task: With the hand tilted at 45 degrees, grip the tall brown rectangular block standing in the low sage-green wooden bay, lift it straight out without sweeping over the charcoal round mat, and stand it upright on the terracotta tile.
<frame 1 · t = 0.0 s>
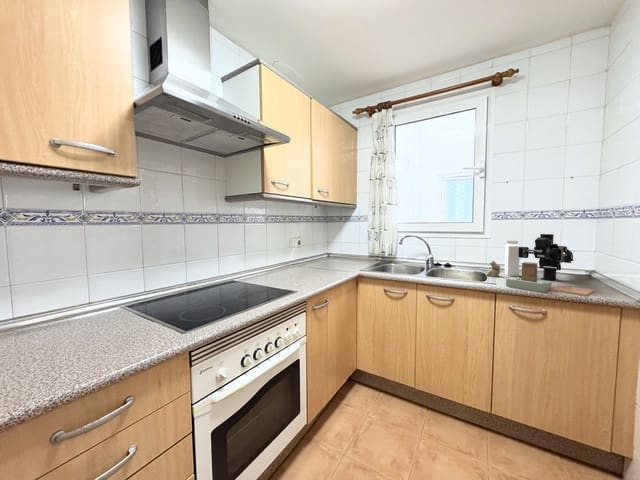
hand: (533, 254, 139), 17 cm above the counter, tool horizontal, fingers open, 9 cm apart
chocolate bunny: (492, 276, 166), on the counter
hole mat: (528, 282, 147), on the counter
tile: (571, 290, 128), on the counter
bay: (528, 286, 137), on the counter
brown rectangular block: (528, 286, 137), resting in bay
milk: (511, 275, 167), on the counter
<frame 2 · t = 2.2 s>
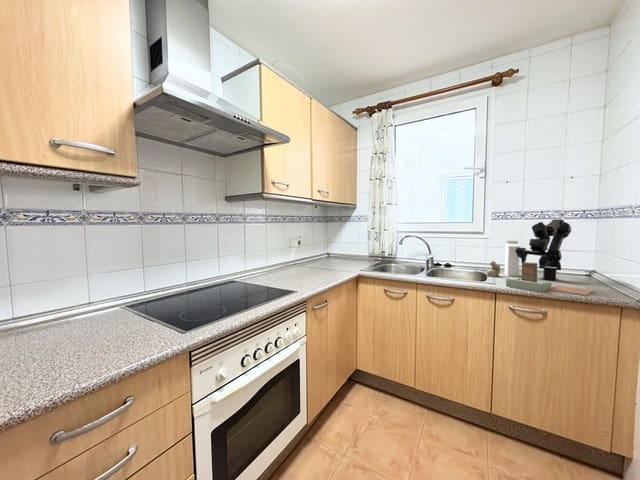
hand: (532, 265, 139), 11 cm above the counter, tool tilted 45°, fingers open, 9 cm apart
nothing on the counter moved.
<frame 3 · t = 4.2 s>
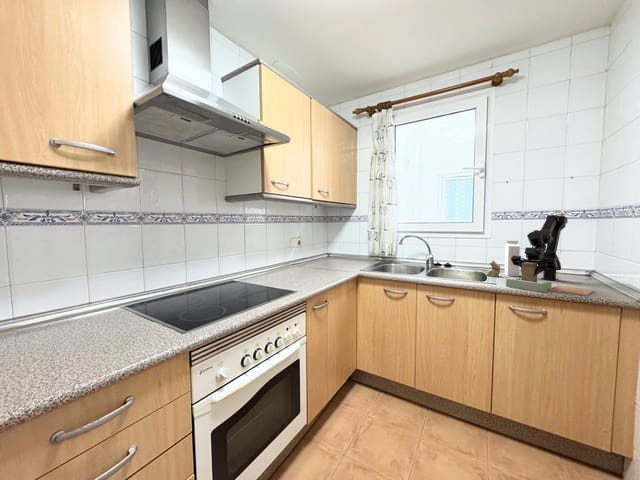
hand: (528, 274, 136), 7 cm above the counter, tool tilted 45°, fingers closed on brown rectangular block, 5 cm apart
brown rectangular block: (528, 286, 137), resting in bay, touching gripper
everything else where it was.
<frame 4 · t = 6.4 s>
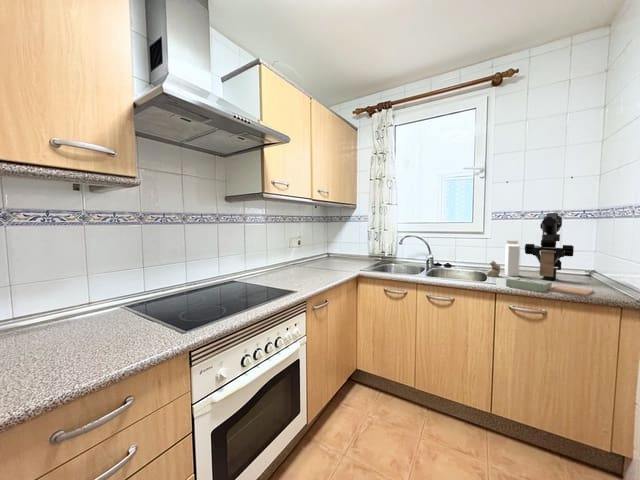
hand: (546, 262, 131), 13 cm above the counter, tool tilted 45°, fingers closed on brown rectangular block, 5 cm apart
brown rectangular block: (546, 275, 132), point 7 cm above the counter, touching gripper
everything else where it was.
when the fingers open (8 cm above the counter, at t = 8.8 s): brown rectangular block drops 1 cm, resting on tile.
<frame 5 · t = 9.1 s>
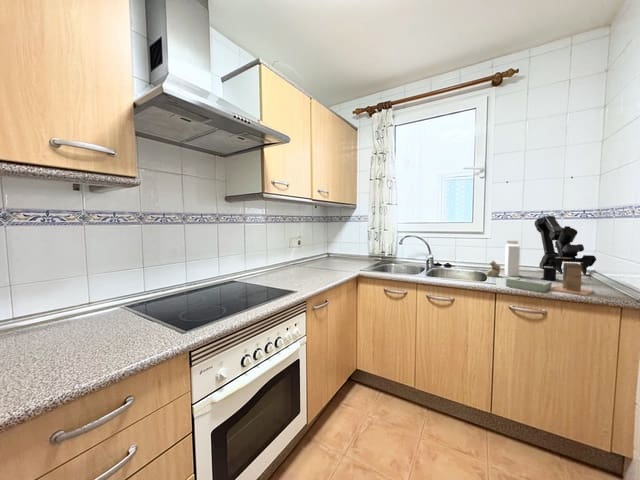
hand: (573, 274, 126), 9 cm above the counter, tool tilted 45°, fingers open, 8 cm apart
brown rectangular block: (571, 289, 128), point 1 cm above the counter, touching tile
everything else where it was.
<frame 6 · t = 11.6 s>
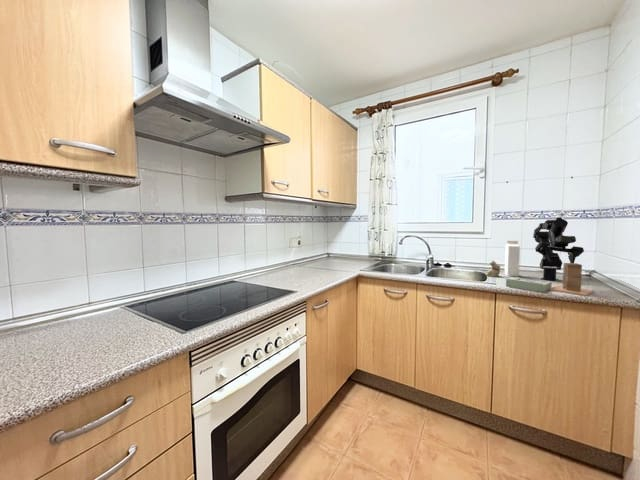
hand: (561, 263, 135), 12 cm above the counter, tool tilted 40°, fingers open, 9 cm apart
nothing on the counter moved.
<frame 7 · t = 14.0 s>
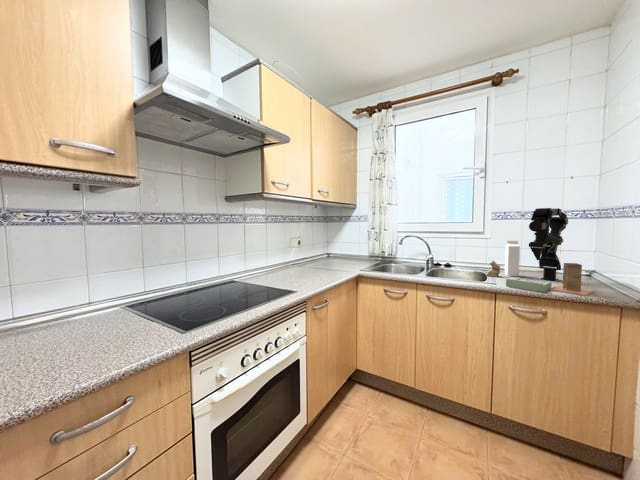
hand: (541, 259, 145), 13 cm above the counter, tool pointing down, fingers open, 9 cm apart
nothing on the counter moved.
at the end: brown rectangular block inside the target area (0.0 cm from its centre), point 0.8 cm above the counter; brown rectangular block tilted 0°; the gripper is holding nothing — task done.
